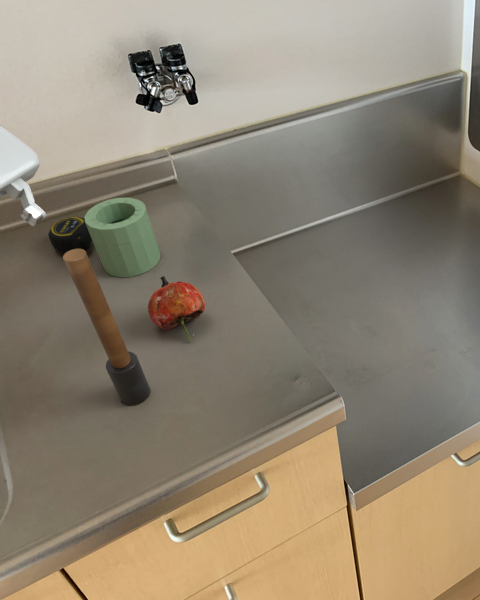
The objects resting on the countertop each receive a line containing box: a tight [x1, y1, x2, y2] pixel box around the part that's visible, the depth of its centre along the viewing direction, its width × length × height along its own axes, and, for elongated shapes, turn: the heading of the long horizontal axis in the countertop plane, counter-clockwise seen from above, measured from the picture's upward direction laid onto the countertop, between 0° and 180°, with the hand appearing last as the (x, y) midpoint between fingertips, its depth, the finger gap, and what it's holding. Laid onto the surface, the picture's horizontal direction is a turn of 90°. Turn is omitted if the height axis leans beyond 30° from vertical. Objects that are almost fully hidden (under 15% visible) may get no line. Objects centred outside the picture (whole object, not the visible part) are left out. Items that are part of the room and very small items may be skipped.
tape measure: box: [48, 216, 93, 254], centre depth 99 cm, size 7×7×4 cm
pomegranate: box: [147, 275, 206, 343], centre depth 84 cm, size 7×7×10 cm
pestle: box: [62, 249, 151, 406], centre depth 70 cm, size 4×4×22 cm
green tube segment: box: [84, 197, 161, 278], centre depth 95 cm, size 9×9×9 cm
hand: (6, 244), depth 65 cm, fingers open, 8 cm apart
